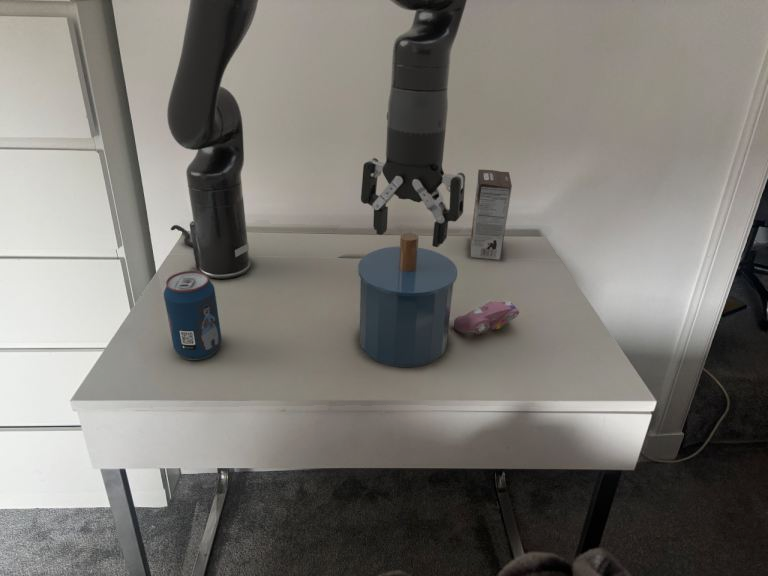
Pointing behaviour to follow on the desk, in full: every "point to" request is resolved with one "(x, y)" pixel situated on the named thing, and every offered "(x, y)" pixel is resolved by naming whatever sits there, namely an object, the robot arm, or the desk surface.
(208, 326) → the soda can
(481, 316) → the pink toy car
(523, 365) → the desk surface
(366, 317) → the canister
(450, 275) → the lid
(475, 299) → the desk surface
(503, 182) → the coffee box
